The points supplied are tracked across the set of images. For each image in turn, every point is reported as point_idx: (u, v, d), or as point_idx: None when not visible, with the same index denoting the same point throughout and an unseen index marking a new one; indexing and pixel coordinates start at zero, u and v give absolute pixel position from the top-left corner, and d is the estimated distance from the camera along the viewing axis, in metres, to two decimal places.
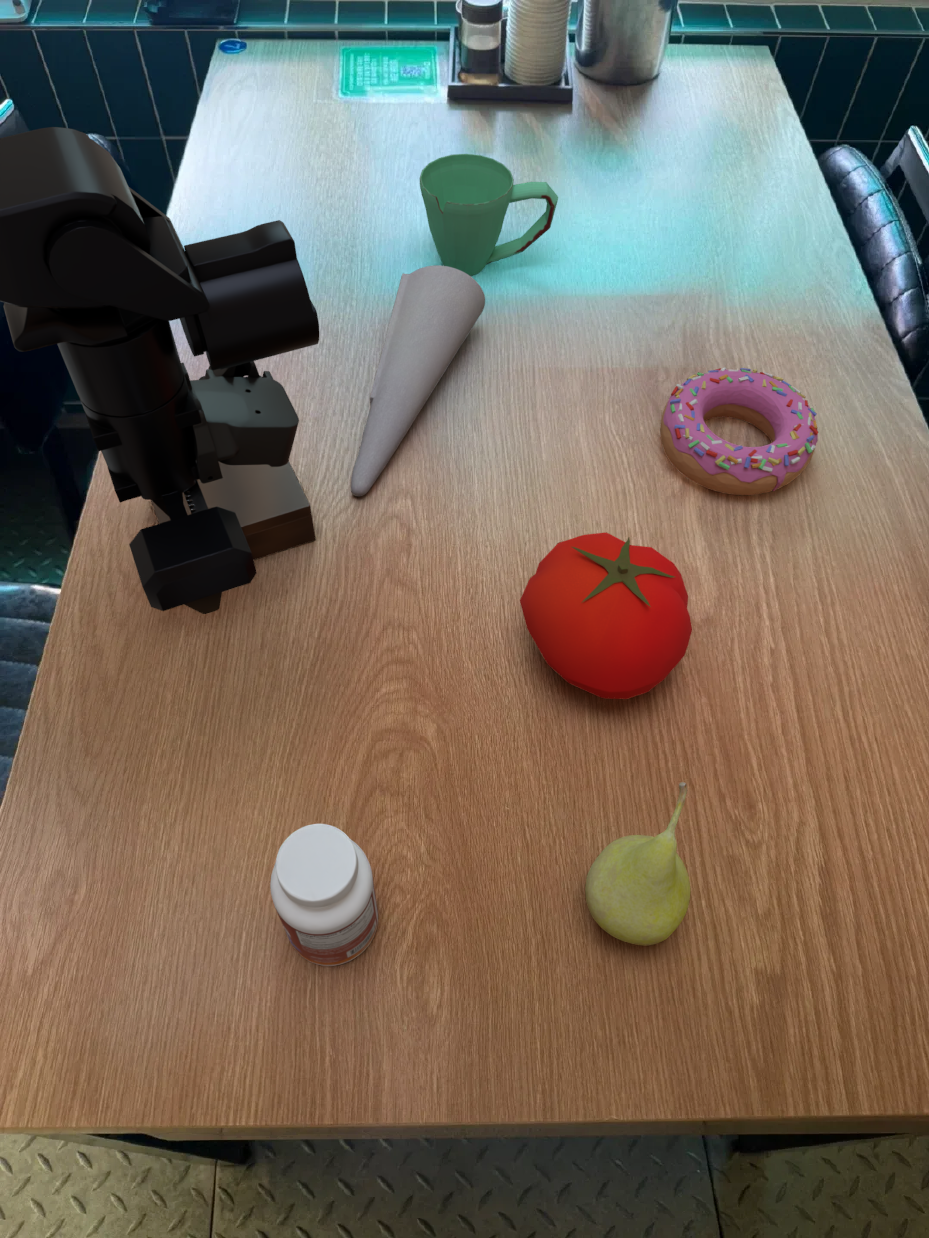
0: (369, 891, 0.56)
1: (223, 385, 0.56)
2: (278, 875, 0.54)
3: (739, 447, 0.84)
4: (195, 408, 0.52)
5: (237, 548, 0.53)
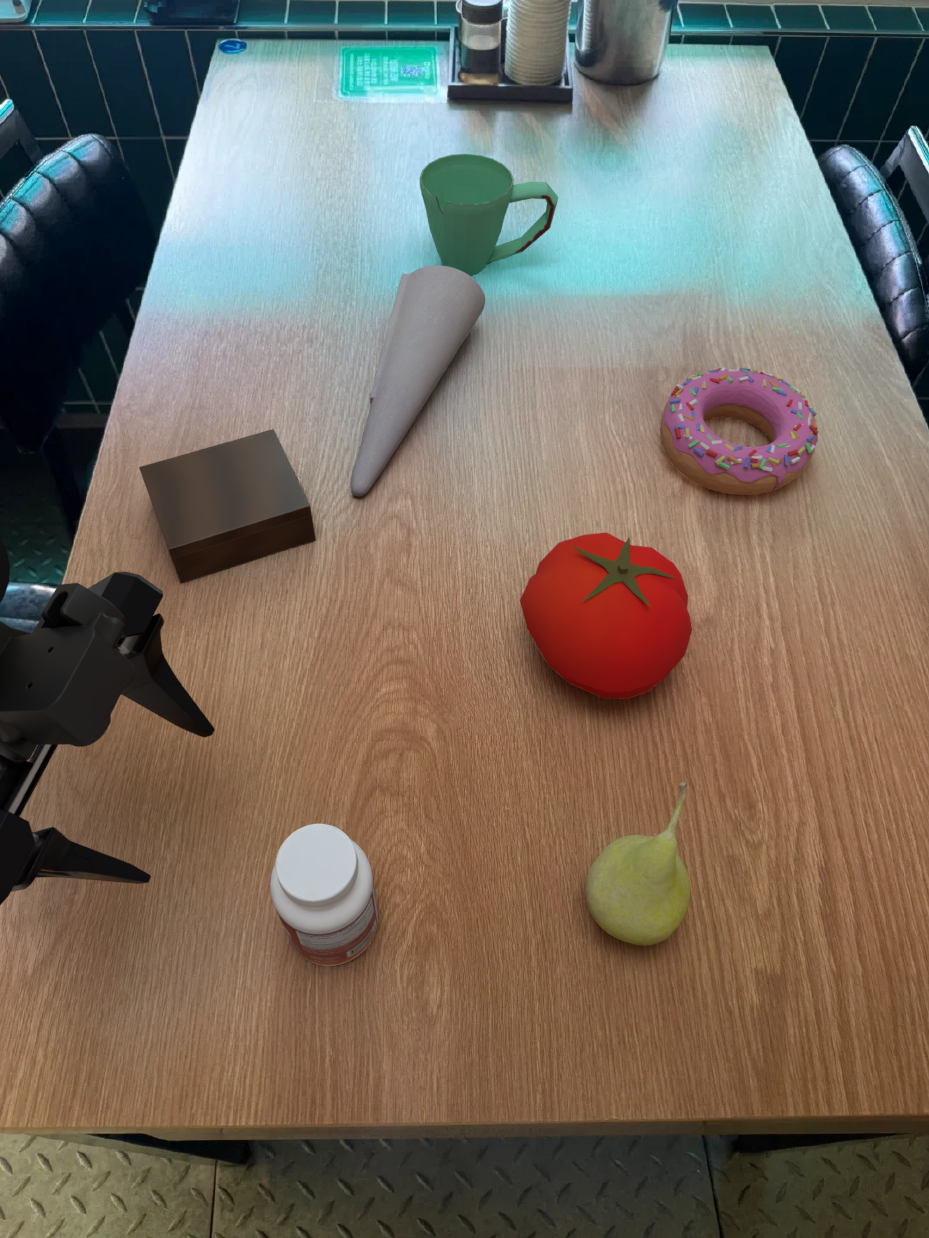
0: (369, 891, 0.56)
1: (34, 642, 0.45)
2: (278, 875, 0.54)
3: (739, 447, 0.84)
4: None
5: None
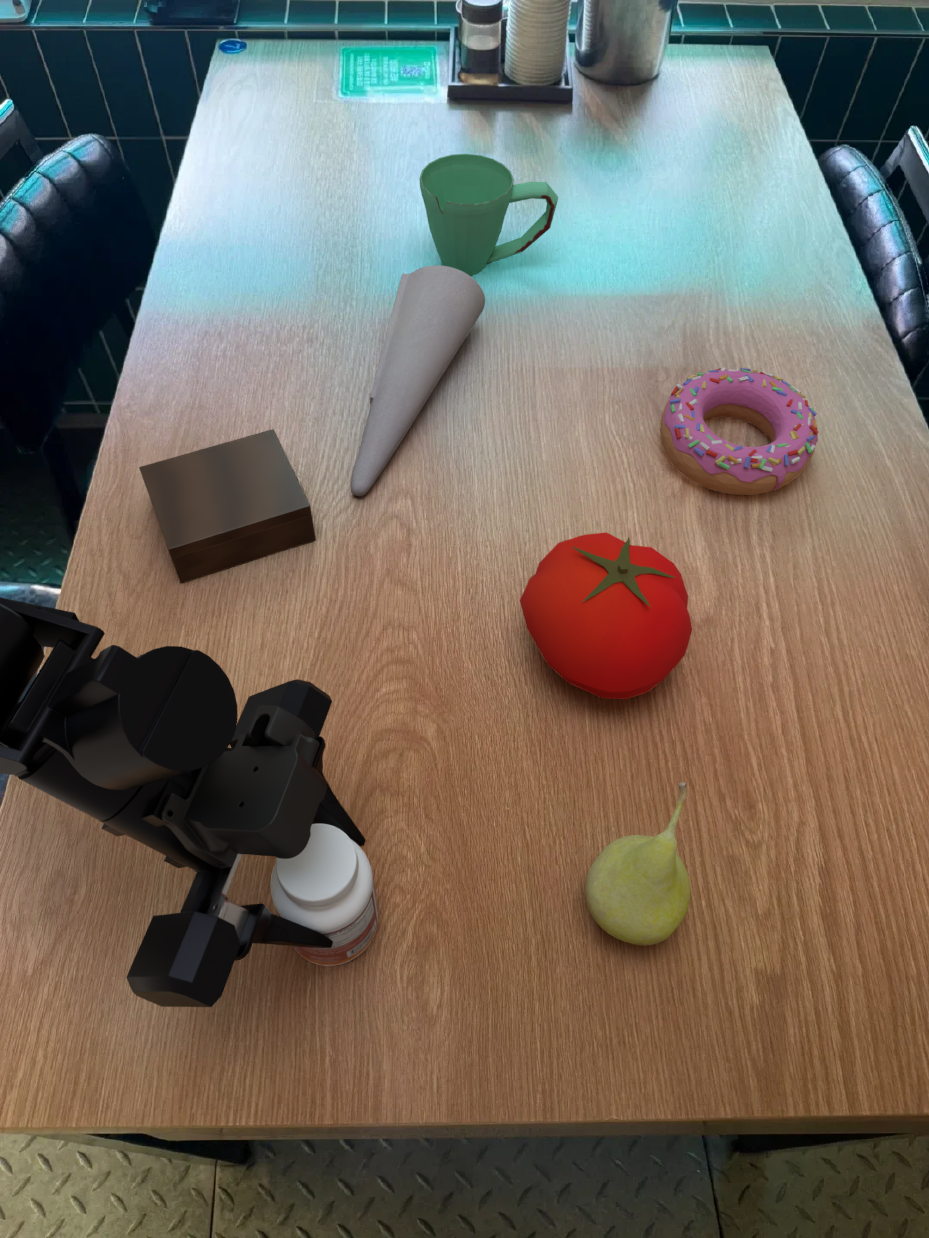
0: (369, 891, 0.56)
1: (238, 760, 0.49)
2: (278, 875, 0.54)
3: (739, 447, 0.84)
4: (152, 812, 0.48)
5: (173, 976, 0.46)
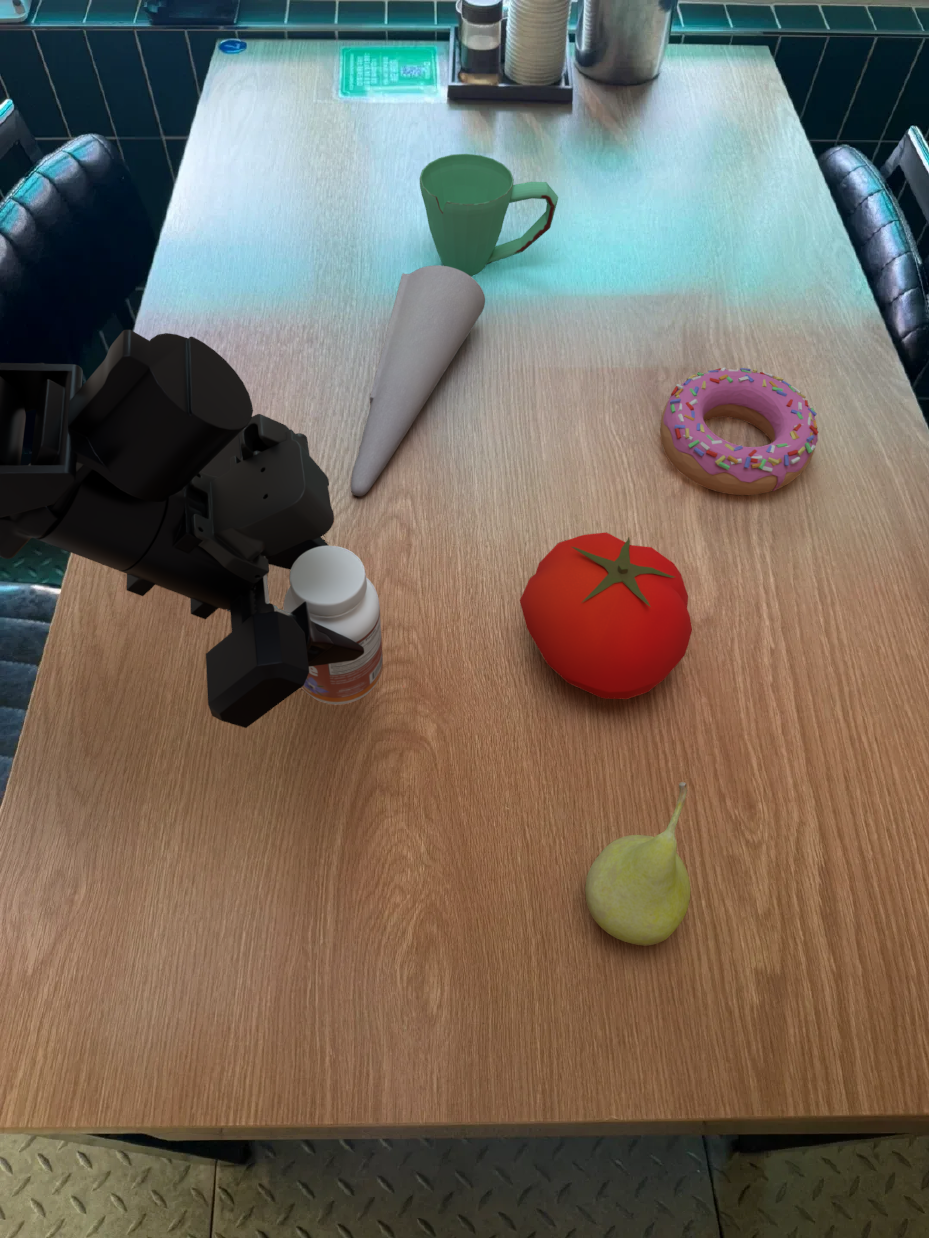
0: None
1: (240, 473, 0.52)
2: (299, 595, 0.57)
3: (739, 447, 0.84)
4: (185, 532, 0.49)
5: (263, 664, 0.49)
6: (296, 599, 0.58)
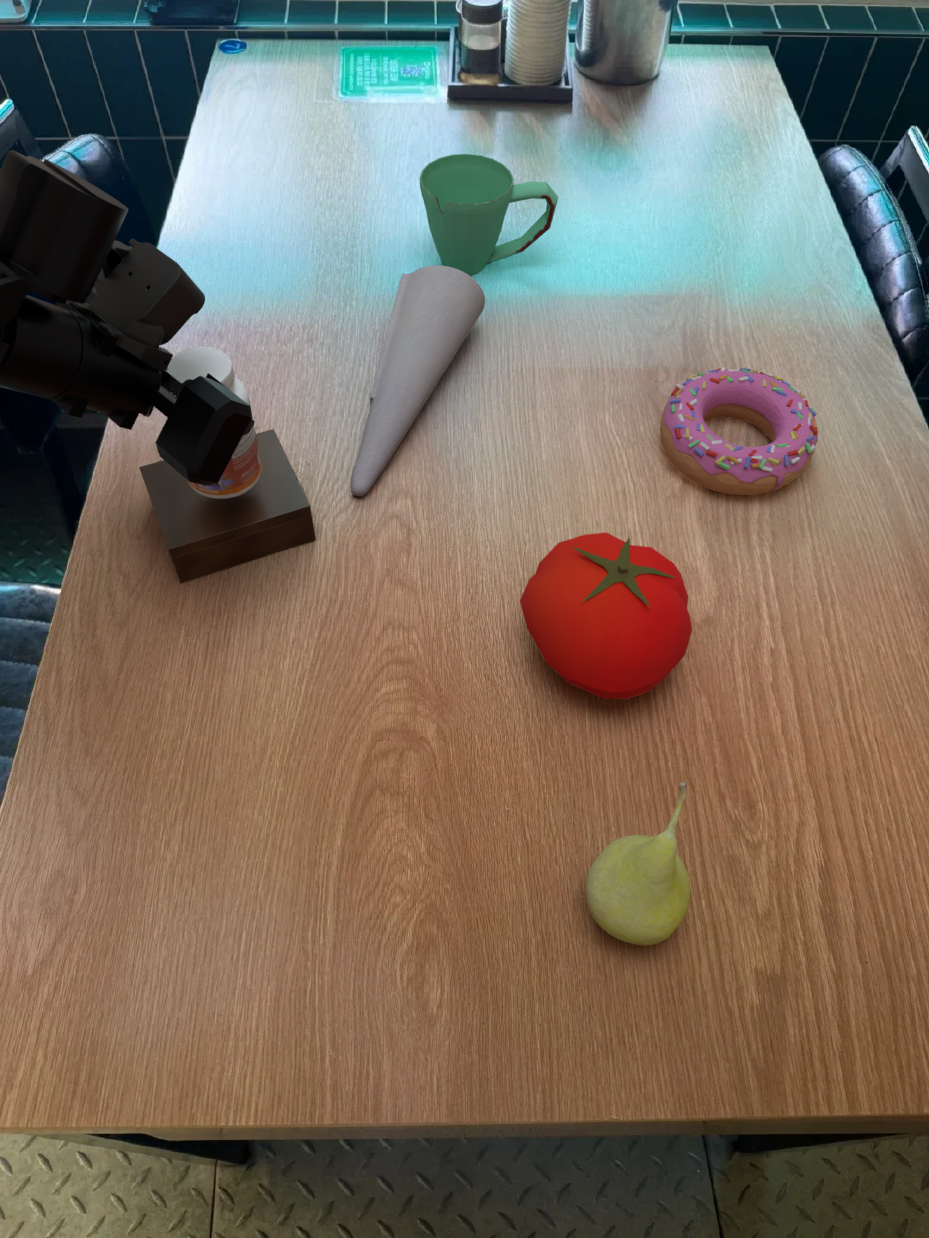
0: None
1: (111, 286, 0.61)
2: None
3: (739, 447, 0.84)
4: (103, 334, 0.59)
5: (219, 407, 0.60)
6: None
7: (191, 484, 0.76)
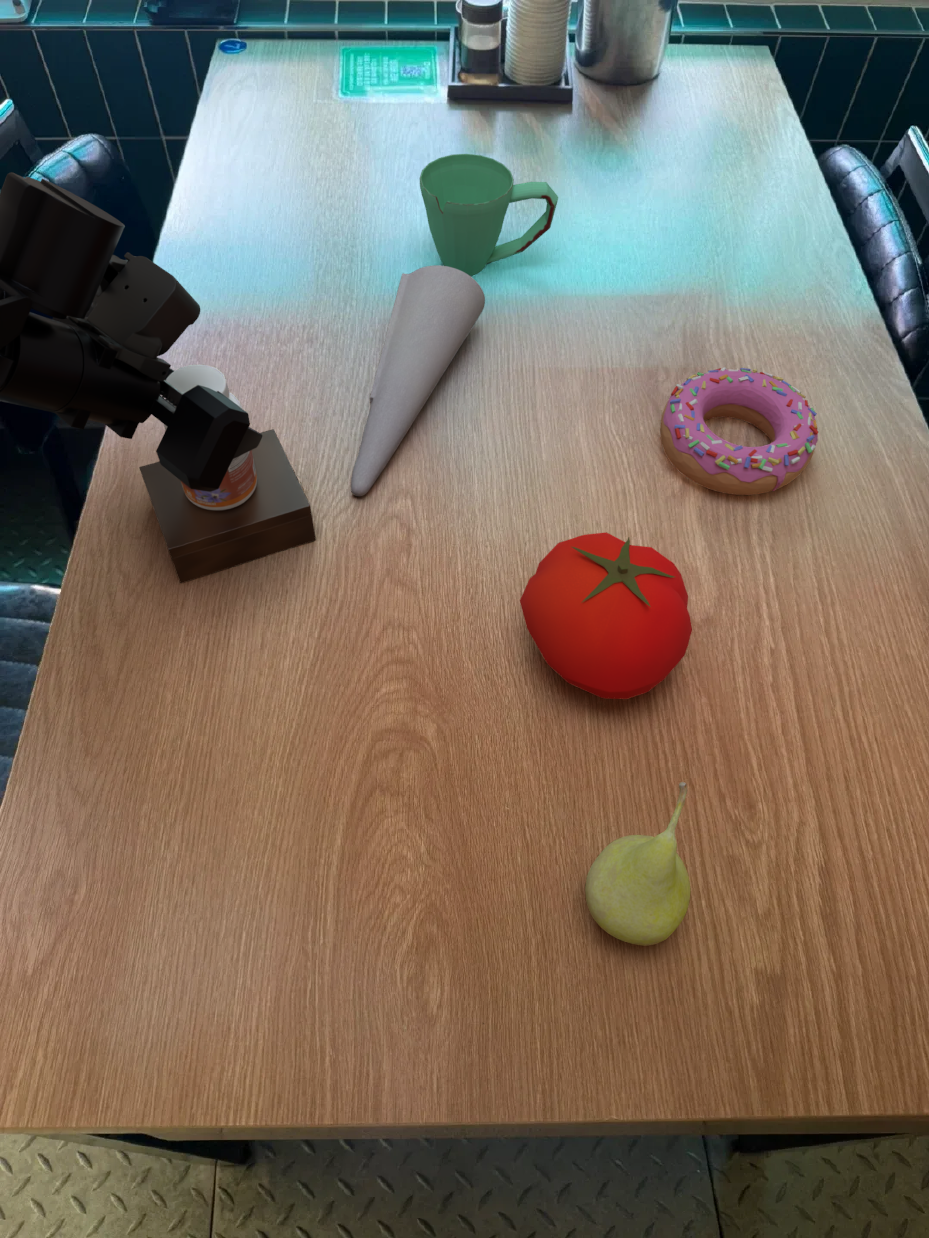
0: None
1: (108, 299, 0.63)
2: None
3: (739, 447, 0.84)
4: (103, 348, 0.60)
5: (217, 415, 0.62)
6: None
7: (189, 497, 0.78)
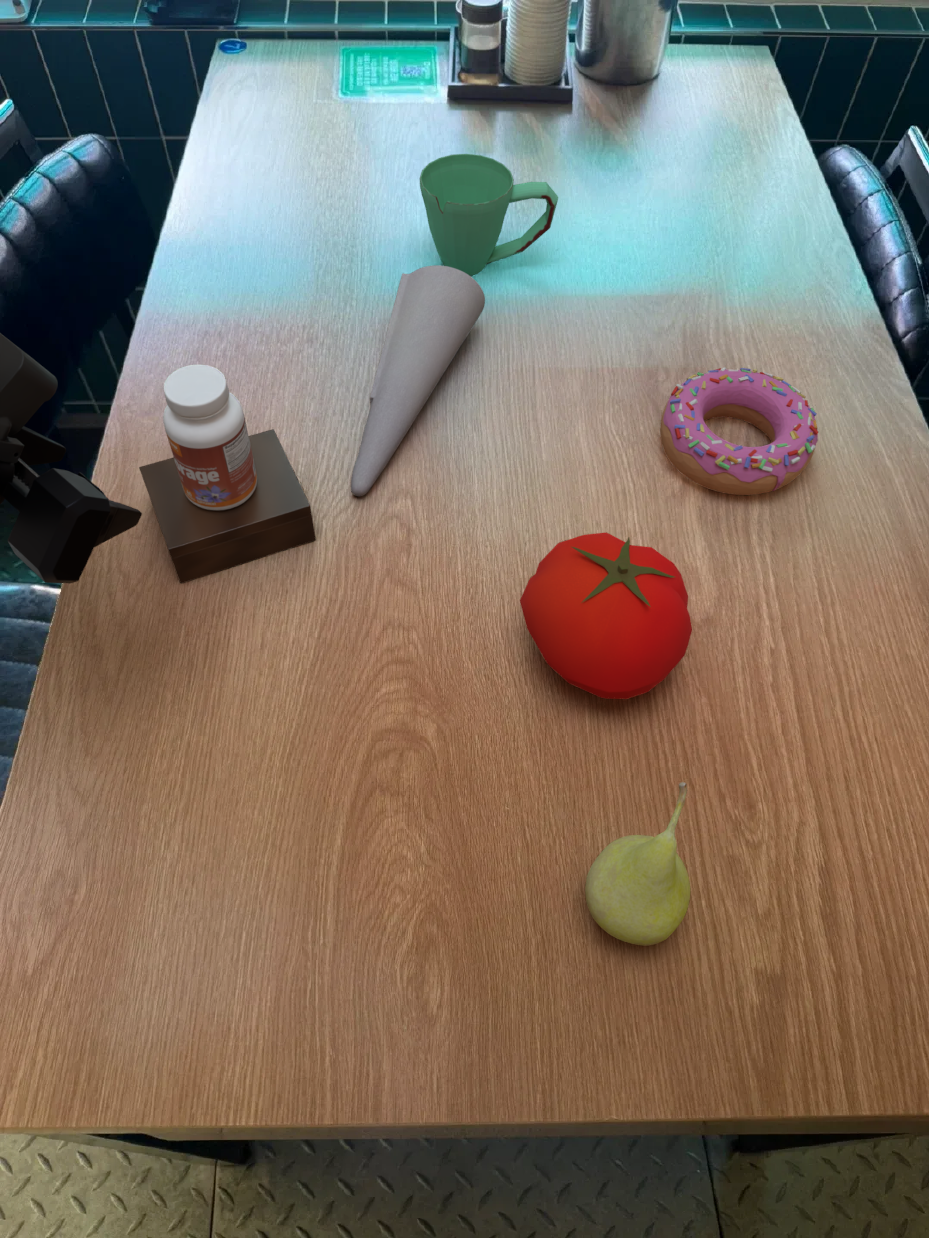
0: None
1: None
2: (186, 405, 0.70)
3: (739, 447, 0.84)
4: None
5: (70, 504, 0.56)
6: (183, 412, 0.70)
7: (189, 497, 0.78)
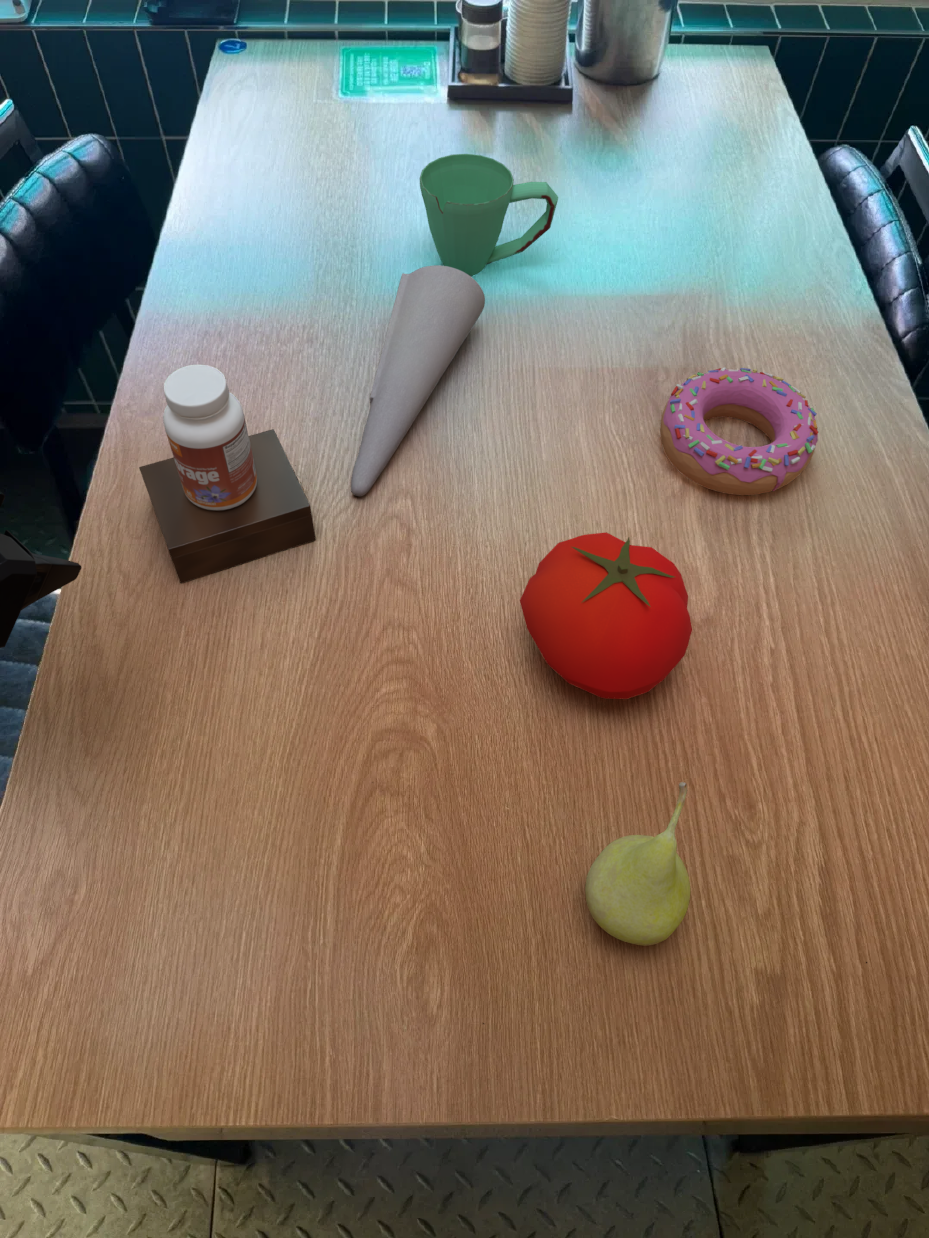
0: None
1: None
2: (186, 405, 0.70)
3: (739, 447, 0.84)
4: None
5: None
6: (183, 412, 0.70)
7: (189, 497, 0.78)
